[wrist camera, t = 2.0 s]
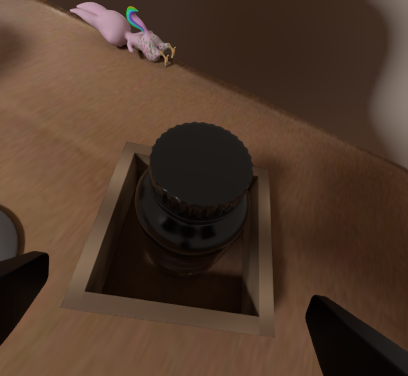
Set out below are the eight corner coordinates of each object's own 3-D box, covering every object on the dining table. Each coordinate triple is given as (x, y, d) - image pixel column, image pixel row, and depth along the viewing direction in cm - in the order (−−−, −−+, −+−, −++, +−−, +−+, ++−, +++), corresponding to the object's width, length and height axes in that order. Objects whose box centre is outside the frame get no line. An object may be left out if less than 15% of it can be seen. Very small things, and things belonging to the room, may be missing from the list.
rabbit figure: (176, 61, 36) (88, 12, 35) (185, 21, 31) (83, -37, 30) (159, 82, 33) (61, 29, 32) (166, 42, 28) (50, -23, 27)
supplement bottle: (144, 207, 21) (127, 102, 11) (214, 203, 23) (255, 106, 13) (145, 285, 18) (122, 237, 8) (227, 275, 20) (297, 222, 9)
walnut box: (253, 334, 18) (275, 337, 14) (81, 310, 17) (60, 307, 13) (253, 190, 24) (268, 169, 21) (131, 167, 23) (126, 141, 20)
